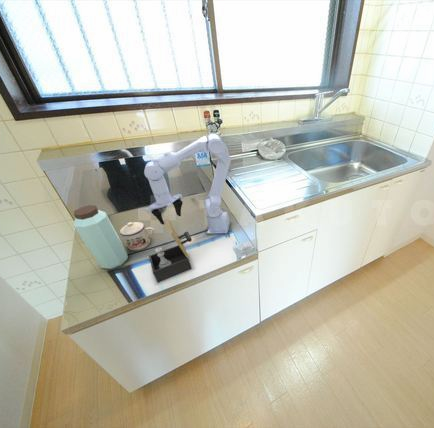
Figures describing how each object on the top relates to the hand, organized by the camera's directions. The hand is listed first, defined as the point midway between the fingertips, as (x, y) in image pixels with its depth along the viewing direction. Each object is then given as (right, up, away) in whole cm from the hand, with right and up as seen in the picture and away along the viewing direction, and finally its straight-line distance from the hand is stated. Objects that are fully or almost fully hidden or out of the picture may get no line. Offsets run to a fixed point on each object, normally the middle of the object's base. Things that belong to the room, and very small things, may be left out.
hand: (170, 219), depth 101 cm
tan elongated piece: (+9, -7, -14) cm, 18 cm away
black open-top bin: (+5, -19, -9) cm, 22 cm away
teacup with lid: (-14, -11, +3) cm, 18 cm away
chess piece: (+3, -19, -10) cm, 21 cm away
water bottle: (-19, -17, -6) cm, 27 cm away
